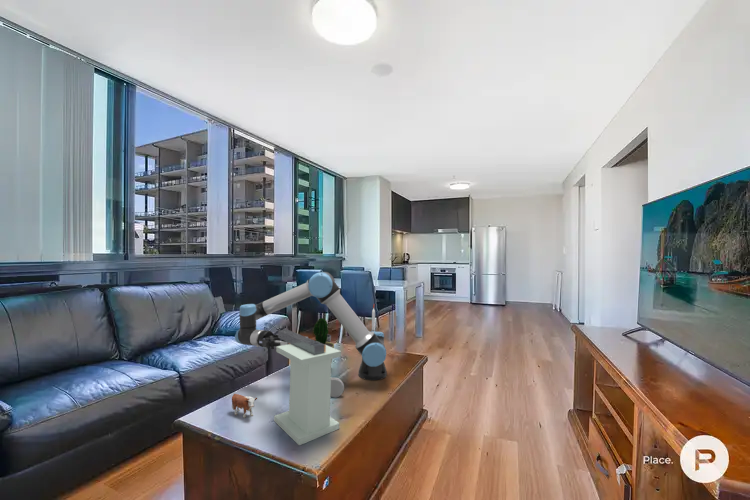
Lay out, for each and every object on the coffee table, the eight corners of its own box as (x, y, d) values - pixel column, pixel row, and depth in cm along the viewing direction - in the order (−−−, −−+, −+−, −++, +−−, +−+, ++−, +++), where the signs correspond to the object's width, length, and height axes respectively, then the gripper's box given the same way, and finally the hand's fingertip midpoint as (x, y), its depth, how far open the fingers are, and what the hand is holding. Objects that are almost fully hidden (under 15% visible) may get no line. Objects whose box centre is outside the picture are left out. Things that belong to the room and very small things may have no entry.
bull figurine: (249, 422, 114) (250, 400, 115) (228, 412, 121) (229, 392, 122) (259, 417, 118) (260, 396, 118) (238, 408, 125) (239, 388, 125)
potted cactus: (307, 367, 174) (309, 314, 175) (334, 367, 175) (336, 314, 176) (302, 377, 159) (303, 319, 160) (332, 377, 159) (333, 320, 160)
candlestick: (382, 362, 185) (383, 304, 186) (364, 362, 184) (365, 304, 185) (380, 356, 196) (381, 302, 197) (363, 357, 195) (364, 302, 196)
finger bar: (278, 337, 130) (278, 330, 130) (288, 336, 133) (288, 329, 133) (314, 355, 107) (314, 346, 107) (325, 352, 110) (325, 344, 111)
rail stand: (274, 420, 116) (276, 346, 117) (311, 408, 126) (313, 339, 127) (299, 445, 101) (301, 359, 102) (339, 428, 111) (341, 351, 112)
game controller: (344, 395, 139) (344, 377, 139) (343, 398, 137) (343, 379, 137) (301, 394, 140) (302, 375, 140) (300, 396, 138) (300, 377, 138)
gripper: (281, 342, 156) (314, 346, 147) (240, 351, 134) (276, 357, 125) (281, 327, 157) (315, 330, 148) (241, 334, 135) (277, 338, 125)
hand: (297, 342), depth 136 cm, fingers open, 13 cm apart
